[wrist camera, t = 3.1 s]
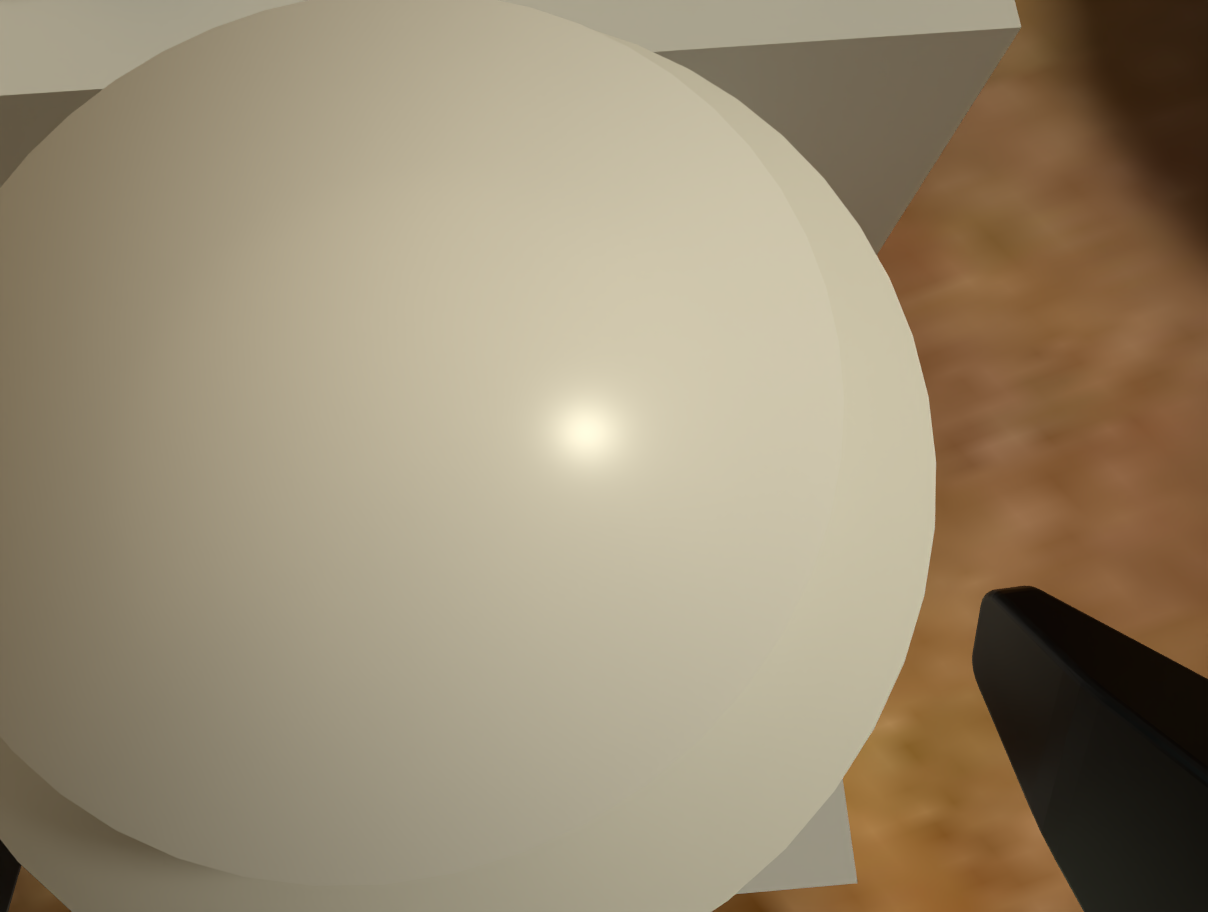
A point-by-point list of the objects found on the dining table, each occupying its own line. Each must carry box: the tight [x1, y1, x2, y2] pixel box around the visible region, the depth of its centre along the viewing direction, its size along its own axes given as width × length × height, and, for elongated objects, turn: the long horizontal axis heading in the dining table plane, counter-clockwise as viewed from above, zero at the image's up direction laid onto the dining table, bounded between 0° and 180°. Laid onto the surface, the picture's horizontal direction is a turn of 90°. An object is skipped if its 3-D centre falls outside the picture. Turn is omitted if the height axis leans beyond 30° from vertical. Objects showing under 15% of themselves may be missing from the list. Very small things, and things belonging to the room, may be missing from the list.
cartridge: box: [0, 0, 936, 912], centre depth 11 cm, size 6×6×14 cm
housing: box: [0, 0, 1021, 894], centre depth 13 cm, size 15×12×11 cm
